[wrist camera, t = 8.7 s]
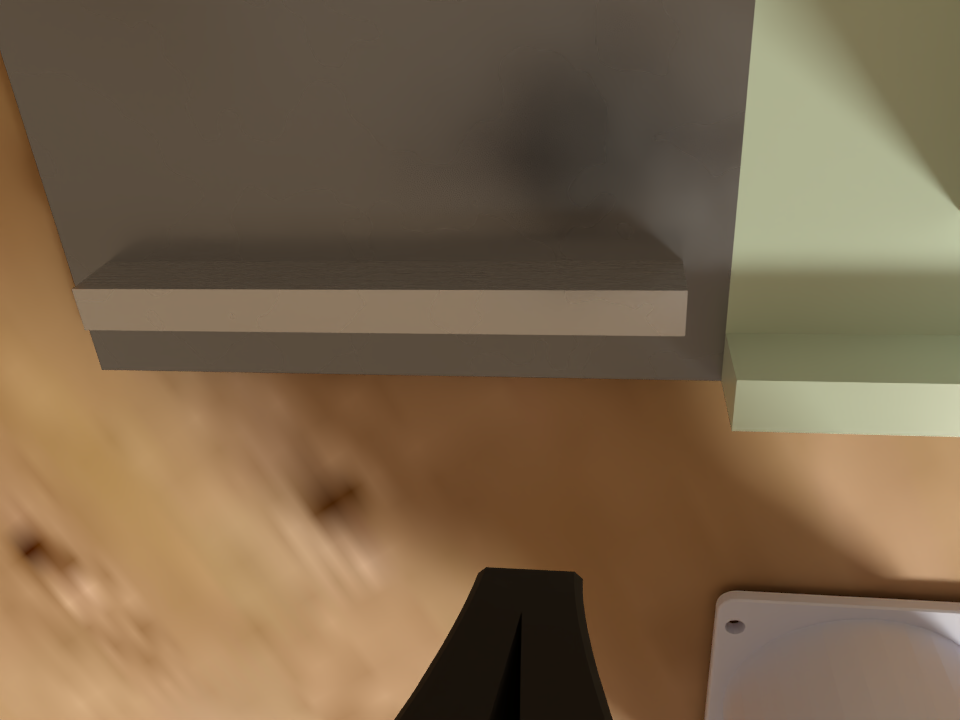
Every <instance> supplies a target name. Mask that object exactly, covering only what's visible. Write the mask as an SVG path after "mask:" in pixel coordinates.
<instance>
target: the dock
mask: <svg viewBox="0 0 960 720" xmlns="http://www.w3.org/2000/svg"><path fill="white" fill-rule="evenodd" d="M754 11H755V0H0V51H1V54H2V58H3V61H4V64H5V67H6V70H7V73H8V76H9V80H10V83H11V86H12V89H13V92H14V95H15V98H16V102H17V105H18V108H19V111H20V114H21V117H22V120H23V123H24V127H25V130H26V133H27V136H28V139H29V142H30V145H31V149H32V152H33V155H34V158H35V161H36V164H37V167H38V171H39V174H40V177H41V180H42V183H43V186H44V189H45V192H46V196H47V199H48V202H49V205H50V208H51V211H52V214H53V218H54V221H55V224H56V227H57V230H58V233H59V236H60V240H61V243H62V246H63V249H64V252H65V255H66V258H67V261H68V265H69V268H70V271H71V274H72V277H73V280H74V283H75V287H74V288H72V291H73V295H74V298H75V301H76V304H77V307H78V310H79V313H80V316H81V319H82V323H83V326H84V329H85V330H89V331H90V334H91V337H92V340H93V343H94V346H95V349H96V352H97V356H98V359H99V362H100V365H101V368H102V370H148V371H204V372H260V373H317V374H373V375H429V376H485V377H542V378H598V379H654V380H710V381H721V379H722V368H723V356H724V345H725V334H726V323H727V312H728V301H729V290H730V278H731V267H732V256H733V245H734V234H735V223H736V212H737V201H738V189H739V178H740V167H741V156H742V145H743V134H744V123H745V111H746V100H747V89H748V78H749V67H750V56H751V45H752V33H753V22H754Z"/></svg>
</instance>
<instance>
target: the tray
mask: <svg viewBox="0 0 960 720" xmlns="http://www.w3.org/2000/svg"><path fill="white" fill-rule="evenodd" d="M959 209H960V0H755V11H754V22H753V33H752V45H751V56H750V67H749V78H748V89H747V100H746V111H745V123H744V134H743V145H742V156H741V167H740V178H739V189H738V201H737V212H736V223H735V234H734V245H733V256H732V267H731V278H730V290H729V301H728V312H727V323H726V334H725V345H724V356H723V368H722V379H721V382H722V386H723V391H724V396H725V401H726V406H727V410H728V415H729V420H730V425H731V430H732V431H751V432H789V433H827V434H865V435H903V436H942V437H960V211H959Z"/></svg>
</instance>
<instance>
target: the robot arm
mask: <svg viewBox="0 0 960 720" xmlns="http://www.w3.org/2000/svg"><path fill="white" fill-rule="evenodd" d="M732 620H738V621H739V622H738V623H730V622H729V621H732ZM394 720H613V719H612V716H611V713H610V710H609V707H608V704H607V700H606V697H605V694H604V691H603V687H602V684H601V681H600V678H599V674H598V671H597V667H596V663H595V660H594V656H593V652H592V647H591V643H590V638H589V634H588V629H587V624H586V618H585V612H584V604H583V579H582V578H581V577H580V576H579V575H578V574H576V573H575V572H567V571H548V570H528V569H509V568H489V567H486V568H485V569H483V570H482V571H481V572H479V573H478V575H477V578H476V580H475V582H474V585H473V587H472V589H471V591H470V594H469V596H468V598H467V600H466V602H465V604H464V606H463V608H462V610H461V612H460V614H459V616H458V618H457V619H456V621H455V623H454V625H453V627H452V629H451V630H450V632H449V634H448V636H447V638H446V639H445V641H444V643H443V645H442V646H441V648H440V650H439V651H438V653H437V655H436V656H435V658H434V659H433V661H432V663H431V664H430V666H429V668H428V669H427V671H426V673H425V674H424V676H423V677H422V679H421V681H420V682H419V684H418V686H417V687H416V689H415V690H414V692H413V693H412V695H411V696H410V698H409V699H408V701H407V702H406V704H405V705H404V707H403V708H402V709H401V711H400V712H399V714H398V715H397V717H396V718H395V719H394ZM704 720H960V602H941V601H922V600H904V599H885V598H866V597H847V596H828V595H810V594H791V593H772V592H753V591H729V592H726V593H724V594H722V595H721V596H720V597H719V598H718V600H717V602H716V609H715V619H714V629H713V639H712V649H711V658H710V668H709V678H708V688H707V698H706V708H705V718H704Z"/></svg>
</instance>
